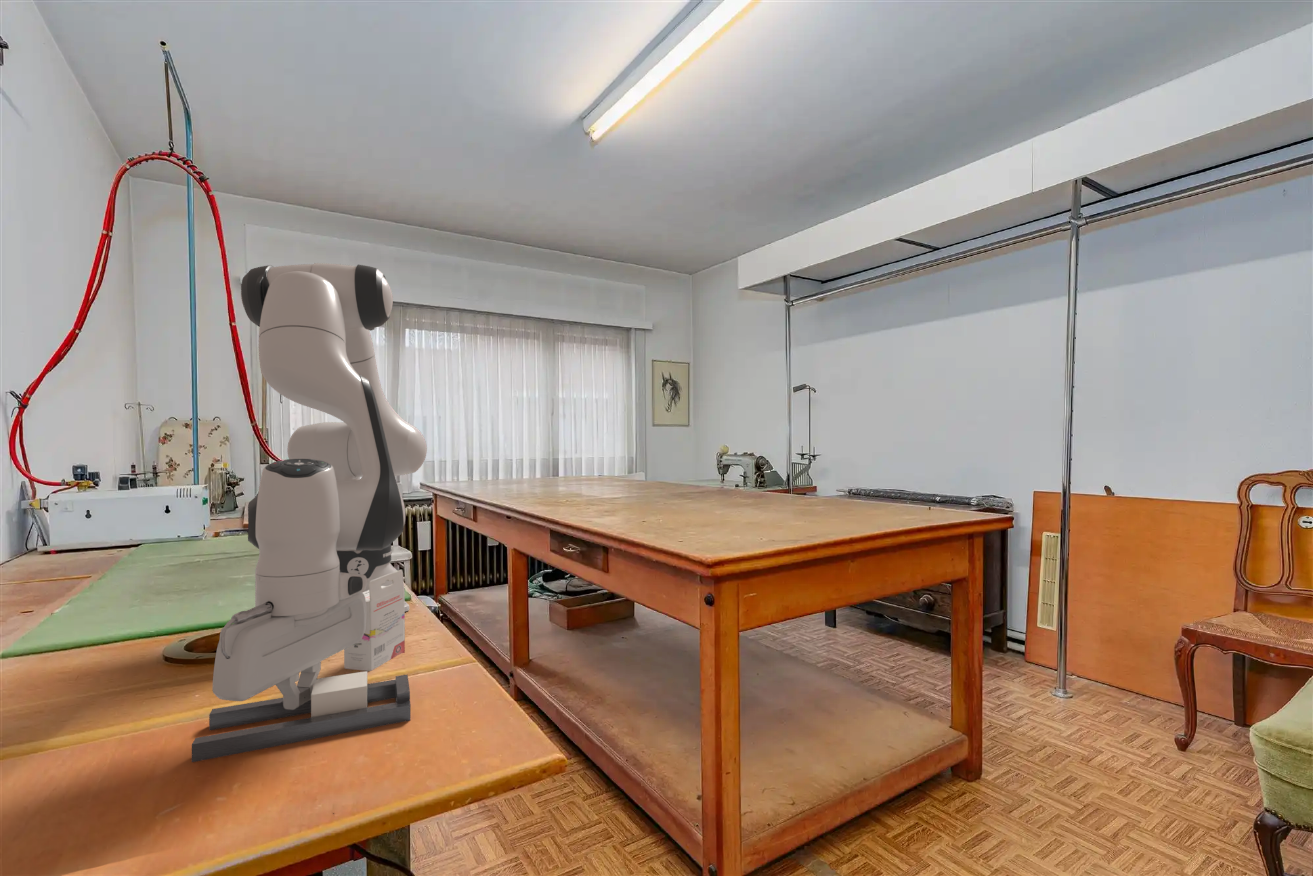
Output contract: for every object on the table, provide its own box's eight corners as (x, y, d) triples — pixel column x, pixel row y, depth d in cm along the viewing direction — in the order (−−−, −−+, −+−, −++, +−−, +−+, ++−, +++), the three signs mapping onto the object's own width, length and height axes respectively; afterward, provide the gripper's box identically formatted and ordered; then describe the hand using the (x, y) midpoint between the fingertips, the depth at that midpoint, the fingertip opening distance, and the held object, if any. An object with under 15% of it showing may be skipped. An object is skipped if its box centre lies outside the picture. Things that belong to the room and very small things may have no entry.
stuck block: (314, 713, 75) (315, 679, 74) (367, 704, 77) (367, 671, 77) (311, 731, 70) (311, 695, 70) (366, 721, 73) (366, 685, 73)
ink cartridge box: (379, 654, 97) (379, 566, 97) (405, 657, 96) (406, 568, 96) (341, 675, 89) (342, 579, 89) (370, 678, 88) (370, 581, 88)
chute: (212, 733, 72) (212, 701, 71) (406, 698, 81) (407, 670, 81) (191, 771, 63) (191, 735, 63) (410, 728, 73) (410, 696, 73)
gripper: (247, 620, 61) (247, 752, 61) (375, 574, 81) (374, 673, 81) (196, 616, 62) (196, 746, 62) (334, 571, 82) (334, 669, 82)
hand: (298, 704), depth 72 cm, fingers closed
